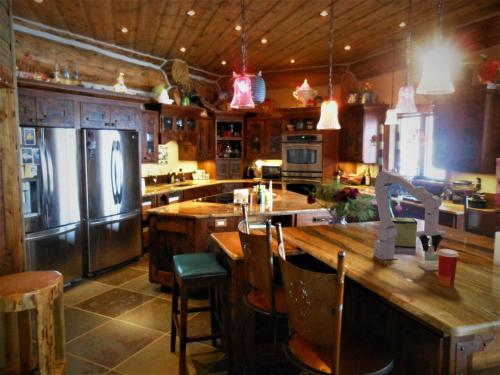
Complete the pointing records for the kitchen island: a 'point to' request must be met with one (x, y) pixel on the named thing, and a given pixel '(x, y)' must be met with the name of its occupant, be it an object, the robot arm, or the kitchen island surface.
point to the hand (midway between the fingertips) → (429, 251)
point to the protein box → (405, 232)
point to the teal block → (432, 257)
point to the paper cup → (447, 267)
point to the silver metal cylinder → (430, 251)
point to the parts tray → (428, 265)
